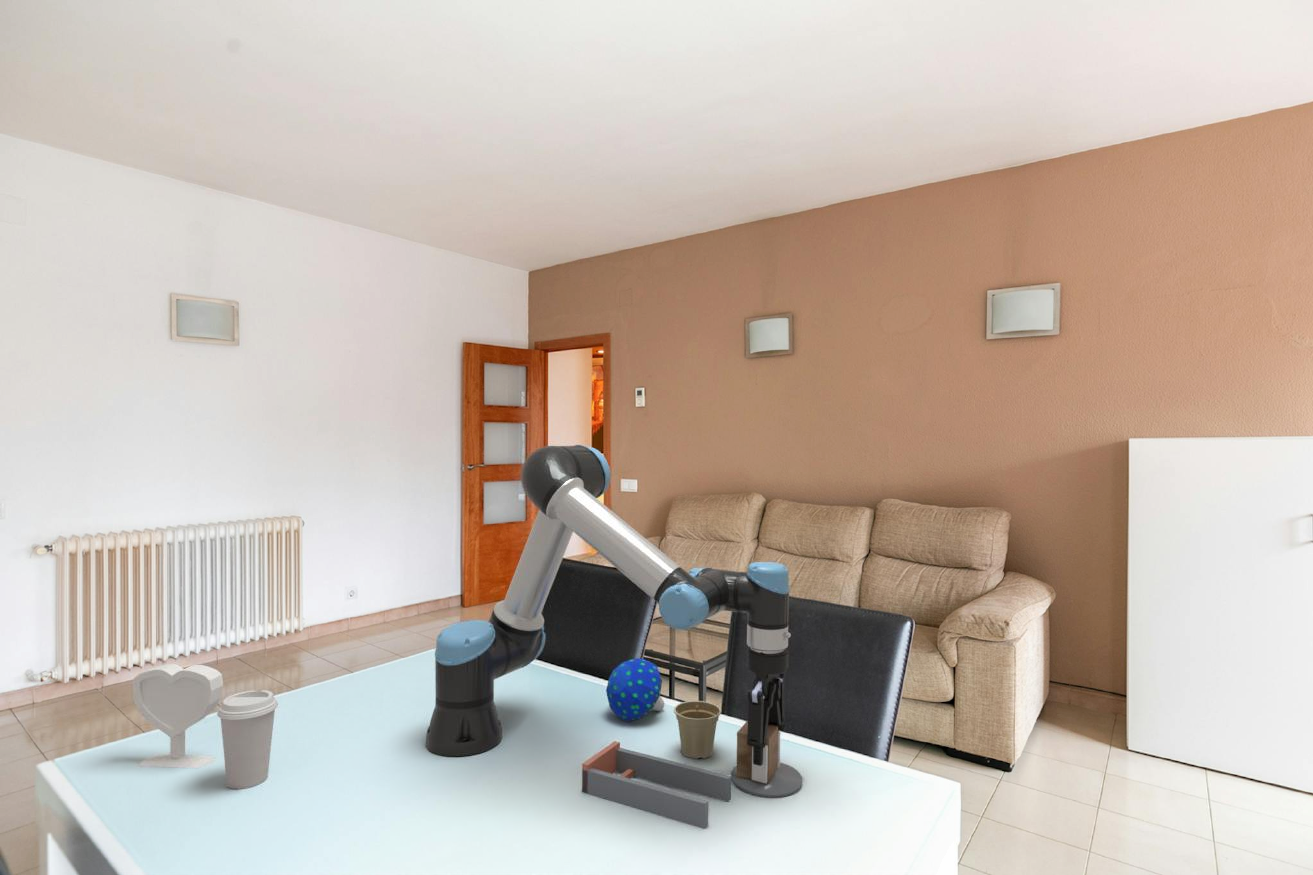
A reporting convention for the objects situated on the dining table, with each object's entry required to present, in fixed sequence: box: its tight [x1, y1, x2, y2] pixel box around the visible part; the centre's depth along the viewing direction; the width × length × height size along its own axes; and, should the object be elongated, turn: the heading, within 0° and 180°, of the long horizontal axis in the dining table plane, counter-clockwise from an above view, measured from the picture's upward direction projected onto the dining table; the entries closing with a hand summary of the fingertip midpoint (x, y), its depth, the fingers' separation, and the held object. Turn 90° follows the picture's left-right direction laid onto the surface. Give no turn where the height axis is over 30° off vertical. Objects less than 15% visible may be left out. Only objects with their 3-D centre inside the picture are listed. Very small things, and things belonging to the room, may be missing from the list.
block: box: [736, 720, 778, 783], centre depth 132 cm, size 6×6×8 cm
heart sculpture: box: [132, 663, 224, 769], centre depth 136 cm, size 16×5×18 cm, turn 87°
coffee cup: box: [216, 689, 279, 790], centre depth 129 cm, size 10×10×15 cm
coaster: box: [730, 761, 803, 799], centre depth 131 cm, size 13×13×1 cm
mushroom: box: [605, 657, 665, 722], centre depth 161 cm, size 14×14×15 cm
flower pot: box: [673, 700, 722, 760], centre depth 142 cm, size 9×9×9 cm
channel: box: [581, 740, 732, 830], centre depth 125 cm, size 24×11×5 cm, turn 61°
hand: (766, 772), depth 131 cm, fingers closed on block, 6 cm apart
